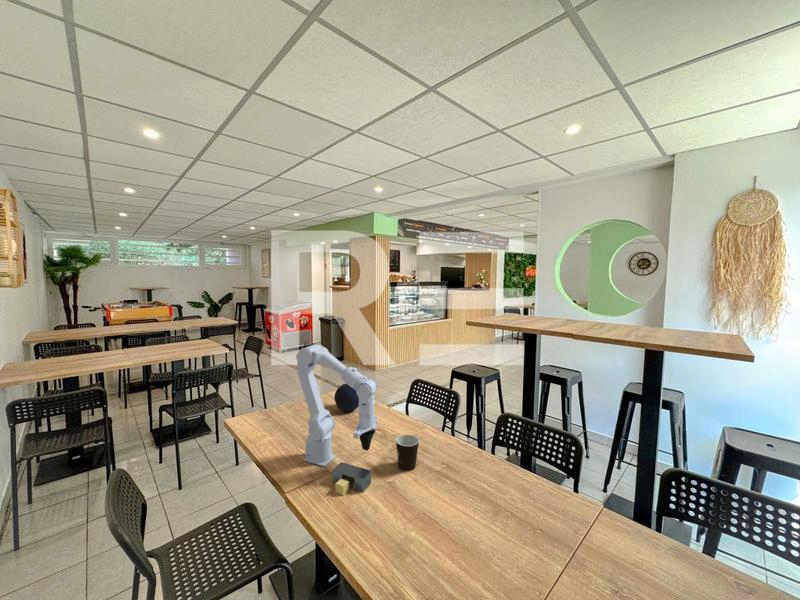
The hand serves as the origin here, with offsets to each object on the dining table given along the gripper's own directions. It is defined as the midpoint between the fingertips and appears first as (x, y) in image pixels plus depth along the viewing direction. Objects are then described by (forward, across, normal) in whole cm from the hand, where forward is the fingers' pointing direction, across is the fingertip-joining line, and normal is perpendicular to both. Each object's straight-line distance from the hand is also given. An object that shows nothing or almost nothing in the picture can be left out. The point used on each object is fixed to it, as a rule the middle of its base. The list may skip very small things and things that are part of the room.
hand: (365, 449), depth 118 cm
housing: (+7, -10, 0) cm, 12 cm away
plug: (+7, -10, 0) cm, 13 cm away
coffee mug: (+7, +9, -13) cm, 17 cm away
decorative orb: (+8, +42, +34) cm, 54 cm away
